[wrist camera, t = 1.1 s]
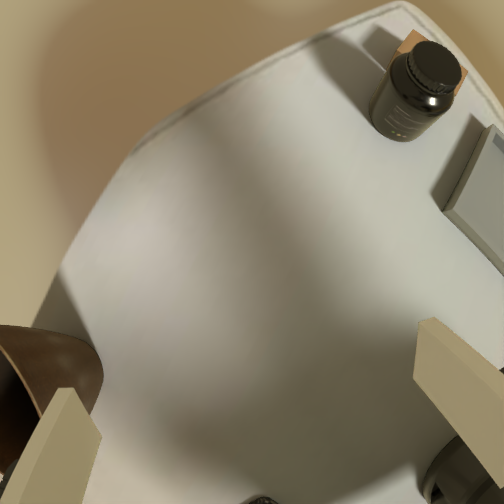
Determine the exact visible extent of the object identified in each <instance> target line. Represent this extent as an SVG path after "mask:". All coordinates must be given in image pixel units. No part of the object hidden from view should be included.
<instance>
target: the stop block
mask: <svg viewBox="0 0 504 504" xmlns="http://www.w3.org/2000/svg"><path fill="white" fill-rule="evenodd" d="M427 40H428V39H427V38H425V37H424V36H422V35H421V34H420V33H418V32H417V31H415V30H414V29H413V30H412V31H411V33H410V34H409V35H408V36H407V38H406V39H405V40H404V41H403V43H402V44H401V45H400V47H399V48H398V49H397V51H396V52H395V54H394V56H393V58H392V60H393V59H394V58H395V57H396V56H398V55H400V54H402V53H405V52H410V51H411V50H412V48H413V47H414V46H415V45H416V43H419V42H420V41H421V42H422V41H427ZM428 41H429V40H428ZM392 60H391V61H390V63H391V62H392ZM390 63H389V65H390ZM389 65H388V67H389ZM388 67H387V69H388ZM460 67H461V71H462V78H461V81H460V82H459V84H458V85H457V86H456V88H455V90H454V91H455V96H456V94H457V93H458V91H459V89H460V87H461V85H462V83H463V81H464V79H465V77H466V75H467V73H468V71H467V70H466V69H465V68H464V67H463V66H461V65H460ZM387 69H386V70H387ZM455 96H454V97H455Z"/></svg>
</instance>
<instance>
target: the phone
mask: <svg viewBox="0 0 504 504" xmlns="http://www.w3.org/2000/svg"><path fill="white" fill-rule="evenodd" d="M249 504H278V503H276V502H275V501H273V500H272V499H270V498H268V497H260V498H258V499H256V500H254V501H253V502H251V503H249Z"/></svg>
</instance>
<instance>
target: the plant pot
mask: <svg viewBox="0 0 504 504" xmlns="http://www.w3.org/2000/svg"><path fill="white" fill-rule="evenodd" d="M102 383H103V368H102V364H101V361H100V359H99V357H98V355H97V354H96V352H95V351H94V350H93V349H92V348H91V346H90V345H88V344H87V343H86V342H84V341H82V340H80V339H77V338H74V337H71V336H68V335H64V334H60V333H56V332H52V331H47V330H41V329H36V328H29V327H20V326H10V325H0V473H1V474H2V475H4V474H5V472H6V470H7V468H8V467H9V466H10V465H11V464H12V463H13V462H14V461H15V460H16V459H20V457H21V455H22V453H23V451H24V449H25V447H26V445H27V443H28V442H29V440H30V438H31V436H32V434H33V432H34V430H35V428H36V427H37V425H38V423H39V421H40V419H41V417H42V416H43V414H44V412H45V410H46V409H47V407H48V405H49V403H50V402H51V400H52V398H53V396H54V395H55V393H56V391H57V389H58V388H74V389H75V391H76V393H77V395H78V397H79V399H80V400H81V402H82V404H83V406H84V407H85V409H86V411H87V413H88V414H89V416H90V414H91V411H92V409H93V407H94V405H95V403H96V400H97V398H98V395H99V392H100V389H101V386H102Z"/></svg>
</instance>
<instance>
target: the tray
mask: <svg viewBox="0 0 504 504" xmlns="http://www.w3.org/2000/svg"><path fill="white" fill-rule="evenodd" d="M442 213H443V214H444V215H445V216H446V217H447V218H448V219H449V220H450V221H451V222H452V223H453V224H454V225H456V226H457V227H458V228H459V229H460V230H461V231H462V232H463V233H464V234H465V235H466V236H467V237H468V238H469V239H470V240H471V241H472V243H473V244H474V245H475V246H476V247H477V248H478V249H479V250H480V251H481V252H482V253H483V254H484V255H485V256H486V257H487V258H488V259H489V260H490V262H491V263H492V264H493V265H494V266H495V267H496V268H497V269H498V270H499V272H500V273H501V274H502V275H503V276H504V134H503V133H502V132H501V131H500V130H499V129H498V128H497V127H496V126H495V125H494V124H492V125H491V126H489V127H488V128H486V129H484V130H483V132H482V134H481V136H480V138H479V141H478V143H477V145H476V147H475V149H474V151H473V153H472V156H471V158H470V160H469V162H468V164H467V166H466V168H465V170H464V172H463V174H462V176H461V178H460V180H459V182H458V184H457V186H456V187H455V189H454V191H453V193H452V195H451V197H450V199H449V200H448V202H447V204H446V206H445V208H444V209H443V211H442Z"/></svg>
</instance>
